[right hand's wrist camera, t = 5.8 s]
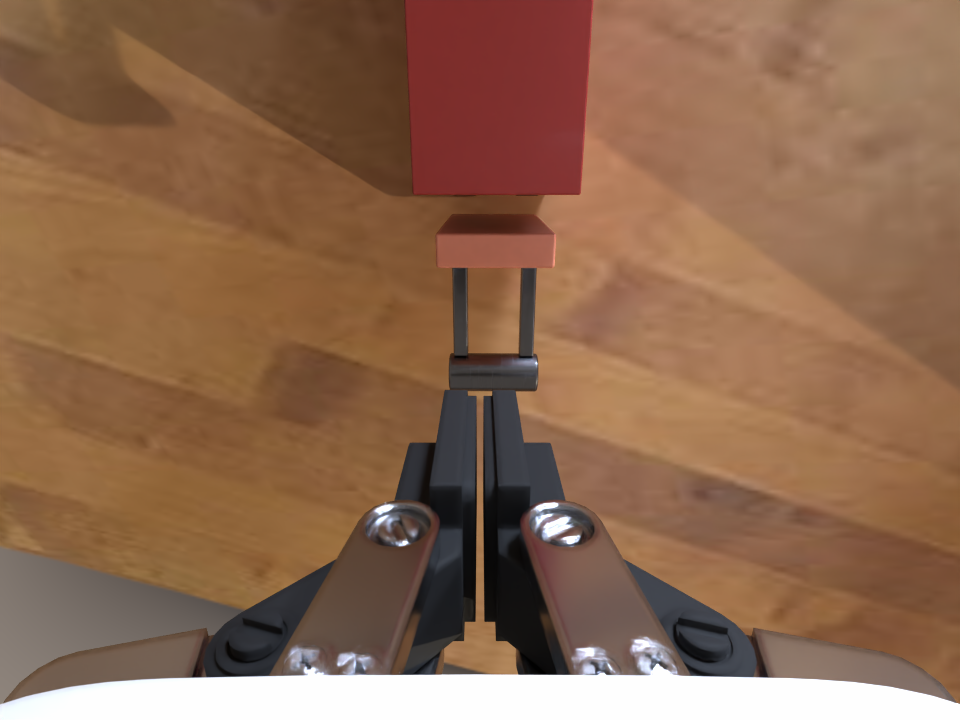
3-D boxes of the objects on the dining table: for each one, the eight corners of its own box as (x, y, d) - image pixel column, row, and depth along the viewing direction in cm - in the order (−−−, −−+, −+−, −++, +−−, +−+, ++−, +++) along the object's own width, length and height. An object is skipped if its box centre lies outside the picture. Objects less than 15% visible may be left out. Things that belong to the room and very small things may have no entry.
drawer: (531, 351, 27) (546, 419, 20) (453, 351, 28) (440, 419, 20) (556, -334, 18) (602, -675, 11) (440, -332, 18) (408, -671, 11)
